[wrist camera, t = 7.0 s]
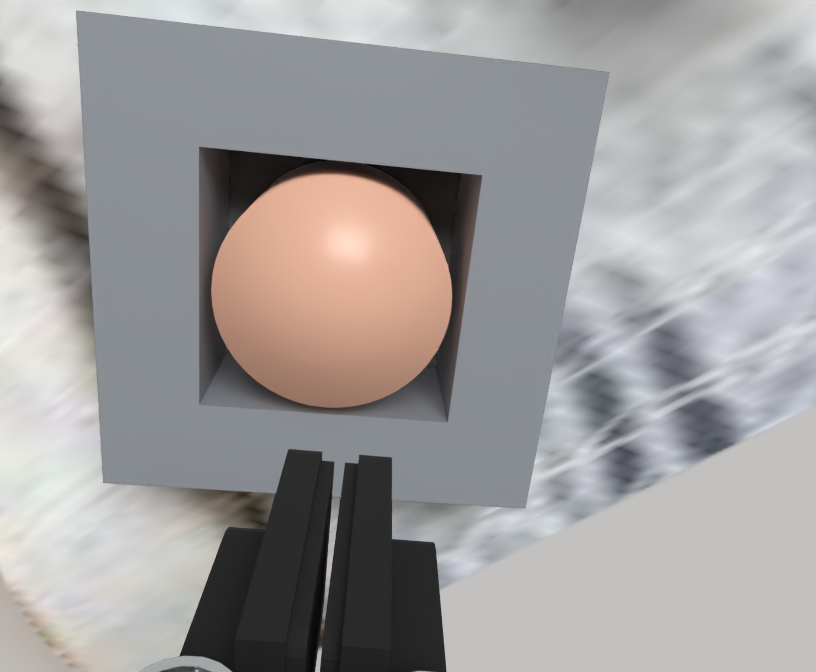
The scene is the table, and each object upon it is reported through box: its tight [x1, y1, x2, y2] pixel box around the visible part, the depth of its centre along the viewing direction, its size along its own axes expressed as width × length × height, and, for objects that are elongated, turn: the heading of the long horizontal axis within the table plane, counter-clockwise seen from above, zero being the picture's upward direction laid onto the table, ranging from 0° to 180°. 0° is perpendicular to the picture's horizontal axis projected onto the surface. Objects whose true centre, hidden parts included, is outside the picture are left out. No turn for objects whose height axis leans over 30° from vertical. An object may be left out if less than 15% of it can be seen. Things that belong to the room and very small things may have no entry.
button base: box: [76, 11, 610, 508], centre depth 26 cm, size 16×16×5 cm
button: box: [211, 160, 452, 408], centre depth 25 cm, size 8×8×5 cm
